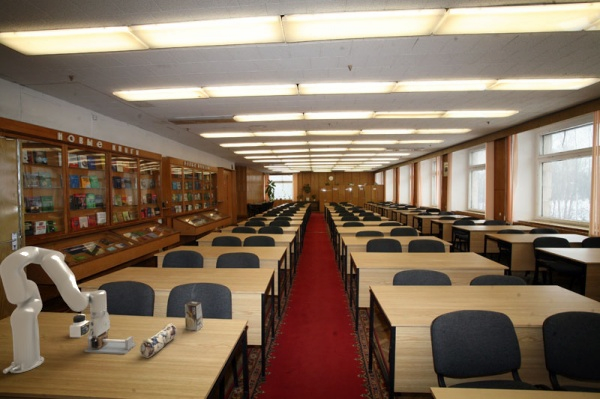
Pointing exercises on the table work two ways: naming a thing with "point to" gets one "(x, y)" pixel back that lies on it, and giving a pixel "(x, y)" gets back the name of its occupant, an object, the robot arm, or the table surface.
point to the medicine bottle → (79, 326)
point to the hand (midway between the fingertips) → (99, 343)
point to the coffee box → (193, 315)
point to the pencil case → (158, 341)
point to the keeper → (100, 337)
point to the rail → (113, 346)
